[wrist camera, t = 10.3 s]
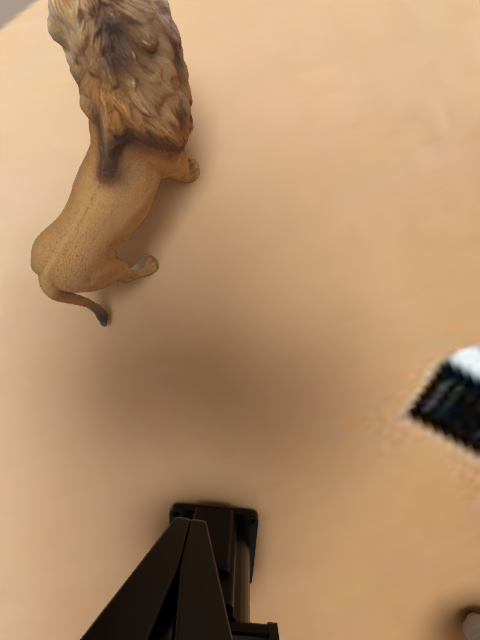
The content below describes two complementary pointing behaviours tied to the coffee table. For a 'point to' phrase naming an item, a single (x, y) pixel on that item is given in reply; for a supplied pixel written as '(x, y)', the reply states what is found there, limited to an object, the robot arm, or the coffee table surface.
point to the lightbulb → (472, 626)
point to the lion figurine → (116, 140)
